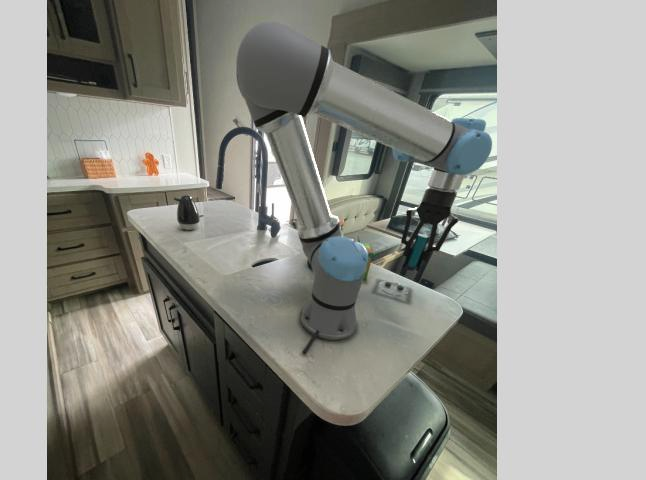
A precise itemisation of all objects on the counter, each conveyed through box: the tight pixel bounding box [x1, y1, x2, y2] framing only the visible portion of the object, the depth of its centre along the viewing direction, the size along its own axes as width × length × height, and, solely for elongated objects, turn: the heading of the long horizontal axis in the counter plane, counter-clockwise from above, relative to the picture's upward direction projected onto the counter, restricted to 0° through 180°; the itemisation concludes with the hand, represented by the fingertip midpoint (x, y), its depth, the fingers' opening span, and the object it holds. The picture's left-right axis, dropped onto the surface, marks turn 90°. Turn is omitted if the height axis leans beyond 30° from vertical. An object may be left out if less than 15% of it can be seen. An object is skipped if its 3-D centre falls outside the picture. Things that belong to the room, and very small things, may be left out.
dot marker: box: [405, 233, 430, 272], centre depth 81 cm, size 3×3×11 cm
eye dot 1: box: [384, 282, 392, 288], centre depth 92 cm, size 2×2×1 cm
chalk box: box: [357, 234, 374, 282], centre depth 96 cm, size 9×9×15 cm
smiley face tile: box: [378, 280, 409, 297], centre depth 92 cm, size 10×11×1 cm
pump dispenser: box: [173, 194, 201, 231], centre depth 124 cm, size 10×10×15 cm
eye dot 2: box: [396, 285, 405, 291], centre depth 91 cm, size 2×2×1 cm
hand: (410, 267), depth 84 cm, fingers closed on dot marker, 3 cm apart
